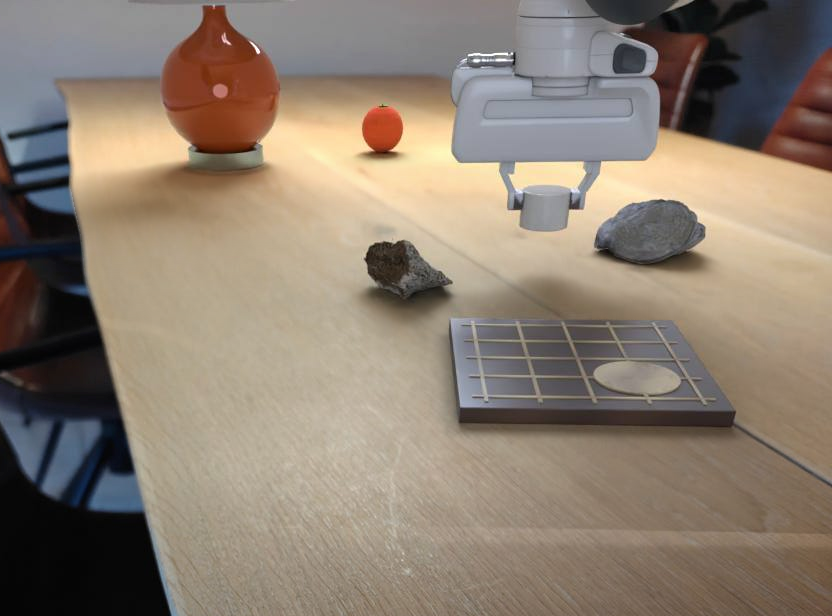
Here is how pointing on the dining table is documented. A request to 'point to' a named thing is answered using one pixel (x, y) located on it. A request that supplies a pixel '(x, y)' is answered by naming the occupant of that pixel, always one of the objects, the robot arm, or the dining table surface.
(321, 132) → the dining table surface
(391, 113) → the clementine
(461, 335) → the game board
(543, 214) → the gray cylinder
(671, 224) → the fossilized seashell
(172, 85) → the lamp
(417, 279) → the rock sample
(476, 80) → the robot arm
